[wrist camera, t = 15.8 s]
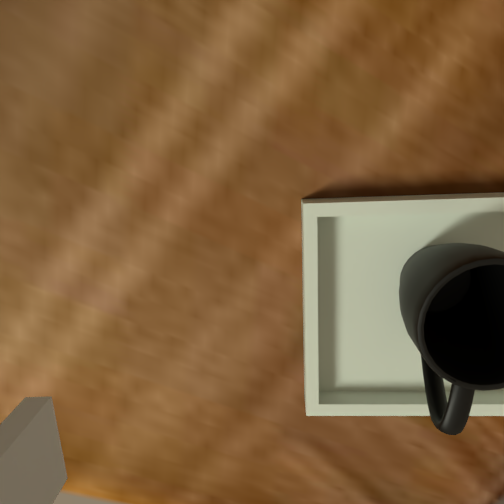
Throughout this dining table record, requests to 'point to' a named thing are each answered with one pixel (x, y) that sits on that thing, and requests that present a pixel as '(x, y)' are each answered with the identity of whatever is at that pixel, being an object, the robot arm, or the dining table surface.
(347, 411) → the tray
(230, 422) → the dining table surface
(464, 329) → the mug
